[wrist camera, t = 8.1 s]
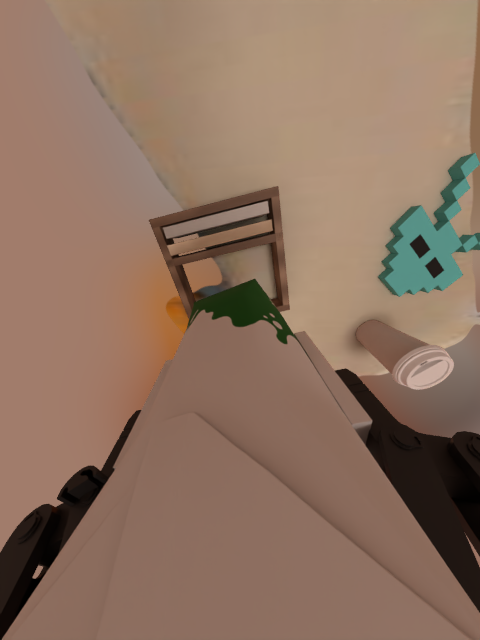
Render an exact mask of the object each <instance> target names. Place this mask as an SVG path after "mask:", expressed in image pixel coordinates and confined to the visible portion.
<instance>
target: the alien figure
mask: <svg viewBox="0 0 480 640" xmlns="http://www.w3.org/2000/svg"><path fill="white" fill-rule="evenodd" d="M479 164H480V163H479V161H478V158H477V156H476V154H475V153H473V154H470V155H467V156H464V157H461V158H460V159H459V160H458V161H457V162H456V163H455V164H454V165H453V166H452V167H451V168H450V169H449V170H448V172H449V174H450V176H451V178H452V180H453V181H452V182H451V183H450V184H449V185H448V186H447V187H446V188H445V189H444V190H443V191H442V192H441V195H442V197H443V199H444V201H445V203H444V204H443V205H442V206H441V207H440V208H438V209H437V210H436V211H435V212H434V215H435V217H436V218H437V220H438V222H437V223H436V224H435V225H434V226H433V224H432V222H431V221H430V219H429V217H428V216H427V214H426V212H425V211H424V209H423V207H422V206H421V205H420V206H414V207H411V208H410V209H409V210H408V211H407V212H406V213H405V214H404V215H403V216H402V217H401V218H400V219H399V220H398V221H397V222H396V223H395V224H394V225H393V226H392V227H391V228H390V229H391V231H392V232H393V233H394V235H395V237H394V238H393V239H392V240H391V241H390V242H389V243H388V244H387V245H386V247H387V248H388V250H389V251H390V252H391V253H390V254H389V255H388V256H387V257H386V258H385V259H384V260H383V261H382V263H383V264H384V266H385V267H386V268H387V269H386V270H385V271H384V272H382V273H381V274H380V275H379V276H378V278H379V279H380V280H381V281H382V282H383V283H384V284H385V286H386V287H387V288H388V289H389V290H390V291H391V292H392V294H394V295H397V296H399V297H400V296H402V295H403V294H404V293H405V292H407V293H410V294H413V295H415V294H416V293H417V292H418V291H419V290H420V291H423V292H427V293H429V292H430V291H431V290H433V289H437V290H441V291H443V290H444V289H446V288H447V287H448V286H449V285H451V284H452V283H453V282H455V281H456V280H457V279H459V278H460V277H461V276H462V275H463V274H462V272H461V270H460V269H459V267H458V265H457V264H456V262H455V260H454V259H453V257H452V255H451V254H452V253H453V252H455V251H456V252H468V251H469V250H470V249H471V250H480V233H475V234H474V235H462V236H461V237H460V238H458V236H457V234H456V232H455V231H454V229H453V227H452V225H451V223H450V222H449V220H451V219H452V218H453V217H454V216H455V215H456V214H457V213H458V212H460V211H461V210H462V209H461V207H460V205H459V203H458V201H457V200H458V199H459V198H460V197H461V196H462V195H463V194H464V193H465V192H467V191H468V190H469V189H470V186H469V184H468V182H467V180H466V177H467V176H468V175H469V174H470V173H471V172H472V171H473V170H474V169H475V168H476V167H477V166H478V165H479Z"/></svg>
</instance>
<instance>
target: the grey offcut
mask: <svg viewBox="0 0 480 640" xmlns="http://www.w3.org/2000/svg"><path fill="white" fill-rule="evenodd" d="M268 213H269V207H268V201H265V202H261V203H257V204H253V205H250V206H246V207H242V208H238V209H234V210H230V211H226V212H222V213H219V214H215V215H211V216H207V217H203V218H199V219H195V220H191V221H188V222H184V223H180V224H176V225H172V226H168V227H164V228H163V230H164V233H165V236H166V238H167V239H171V238H180V237H184V236H188V235H192V234H196V233H200V232H204V231H208V230H212V229H216V228H220V227H223V226H227V225H231V224H235V223H239V222H243V221H247V220H251V219H255V218H259V217H262V216H264V215H266V214H268Z"/></svg>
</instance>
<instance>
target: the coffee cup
mask: <svg viewBox="0 0 480 640" xmlns="http://www.w3.org/2000/svg"><path fill="white" fill-rule="evenodd" d="M356 338H357V339H358V340H359V341H360V342H361V343H362V344H363V345H364V346H365V348H366V349H367V350H368V351H369V352H370V353H371V354H372V355H373V356H374V357H375V358H376V359H377V360H378V361H379V362H380V363H381V364H382V365H383V366H384V367H385V368H386V369H387V370H388V371H389V372H390V373H391V374H392V377H393V379H394V380H395V381H396V382H397V383H399V384H401V385H404V386H407V387H410V388H412V389H426V388H429V387H432V386H434V385H436V384H438V383H440V382H441V381H443V380H444V379H445V378H446V377H447V376H448V375H449V374H450V373H451V372H452V370H453V367H454V362H453V360H452V359H451V358H450V356H449V354H448V353H447V352H446V351H445V350H444V349H443V348H442V347H440V346H437V345H429V344H427V343H425V342H422V341H420V340H418V339H416V338H414V337H412V336H409V335H407V334H405V333H403V332H401V331H398V330H396V329H394V328H392V327H390V326H388V325H385V324H383V323H381V322H379V321H376V320H370V321H367V322H365V323H363V324H362V325H361V326H360V327H359V328H358V329H357V331H356Z"/></svg>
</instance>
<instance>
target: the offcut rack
mask: <svg viewBox="0 0 480 640" xmlns="http://www.w3.org/2000/svg"><path fill="white" fill-rule="evenodd" d="M265 201H268V207H269V213H268V214H267V217H268V220H271V219H272V228H273V231H269V232H270V234H267V235H263V236H259V237H255V238H250V239H246V240H242V241H238V242H234V243H230V244H226V245H222V246H218V247H214V248H210V249H206V250H202V251H198V252H194V253H190V254H186V255H182V256H179V255H178V254H177V255H173V256H171V255H170V252H169V249H168V247H167V245H171V244H174V241H173V238H171V239H167V238H166V236H165V233H164V230H163V228H164V227H168V226H172V225H176V224H180V223H184V222H188V221H191V220H195V219H199V218H203V217H207V216H211V215H215V214H219V213H222V212H226V211H230V210H234V209H238V208H242V207H246V206H250V205H253V204H257V203H261V202H265ZM149 222H150V224H151V227H152V229H153V232H154V234H155V237H156V239H157V242H158V244H159V246H160V249H161V251H162V254H163V256H164V259H165V261H166V264H167V266H168V269H169V271H170V273H171V276H172V278H173V281H174V283H175V286H176V288H177V291H178V293H179V296H180V298H181V300H182V303H183V305H184V308H185V310H186V313H187V315H188V318H189V319H190V315H191V312H192V308H193V305H194V302H196V301H195V298H194V296H193V293H192V290H191V287H190V285H189V282H188V279H187V276H186V274H185V271H184V268H183V266H182V264H186V263H190V262H194V261H198V260H202V259H206V258H210V257H215V256H219V255H223V254H227V253H231V252H235V251H239V250H243V249H247V248H251V247H255V246H259V245H264V244H268V243H271V248H272V256H273V264H274V272H275V280H276V288H277V296H278V298H275V299H271V301H272V302H273V304H274V305H275V306H276V308H277V309H278V311H279V312H281V311H285V310H290V307H289V296H288V285H287V275H286V264H285V253H284V242H283V232H282V221H281V210H280V200H279V189H278V186H277V187H273V188H269V189H265V190H261V191H257V192H254V193H250V194H246V195H242V196H238V197H235V198H231V199H227V200H223V201H219V202H215V203H212V204H208V205H204V206H200V207H196V208H192V209H189V210H185V211H181V212H177V213H173V214H170V215H166V216H162V217H158V218H154V219H150V220H149Z"/></svg>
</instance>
